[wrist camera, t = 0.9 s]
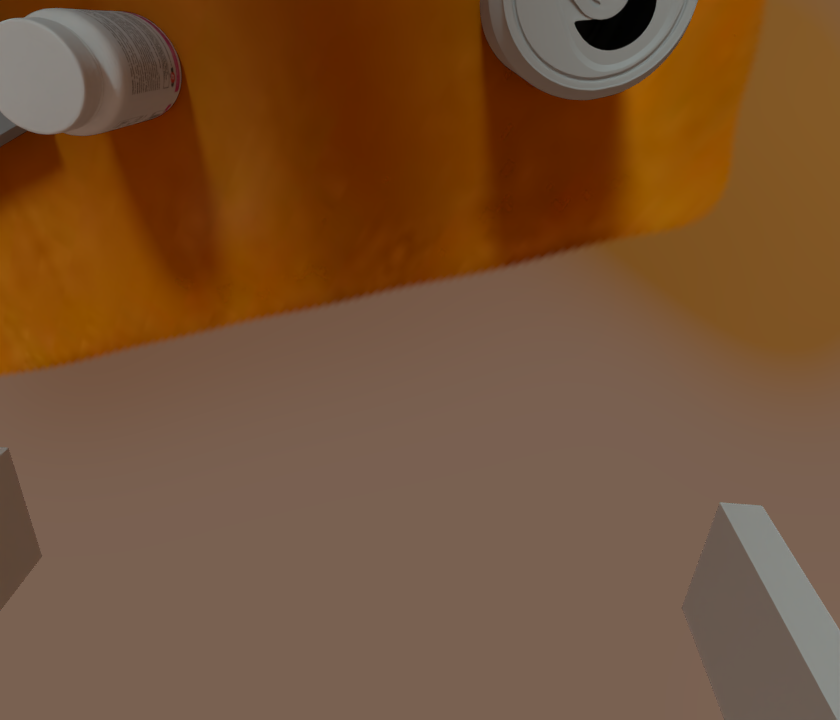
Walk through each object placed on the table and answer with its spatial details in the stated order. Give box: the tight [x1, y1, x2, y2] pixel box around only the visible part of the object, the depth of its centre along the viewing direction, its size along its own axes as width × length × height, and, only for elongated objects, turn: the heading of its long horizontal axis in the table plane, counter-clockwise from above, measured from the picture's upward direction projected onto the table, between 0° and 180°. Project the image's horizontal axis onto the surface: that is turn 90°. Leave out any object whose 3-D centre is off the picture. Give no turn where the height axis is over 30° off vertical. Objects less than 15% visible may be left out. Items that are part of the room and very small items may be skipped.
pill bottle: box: [0, 8, 181, 136], centre depth 27 cm, size 5×5×8 cm
